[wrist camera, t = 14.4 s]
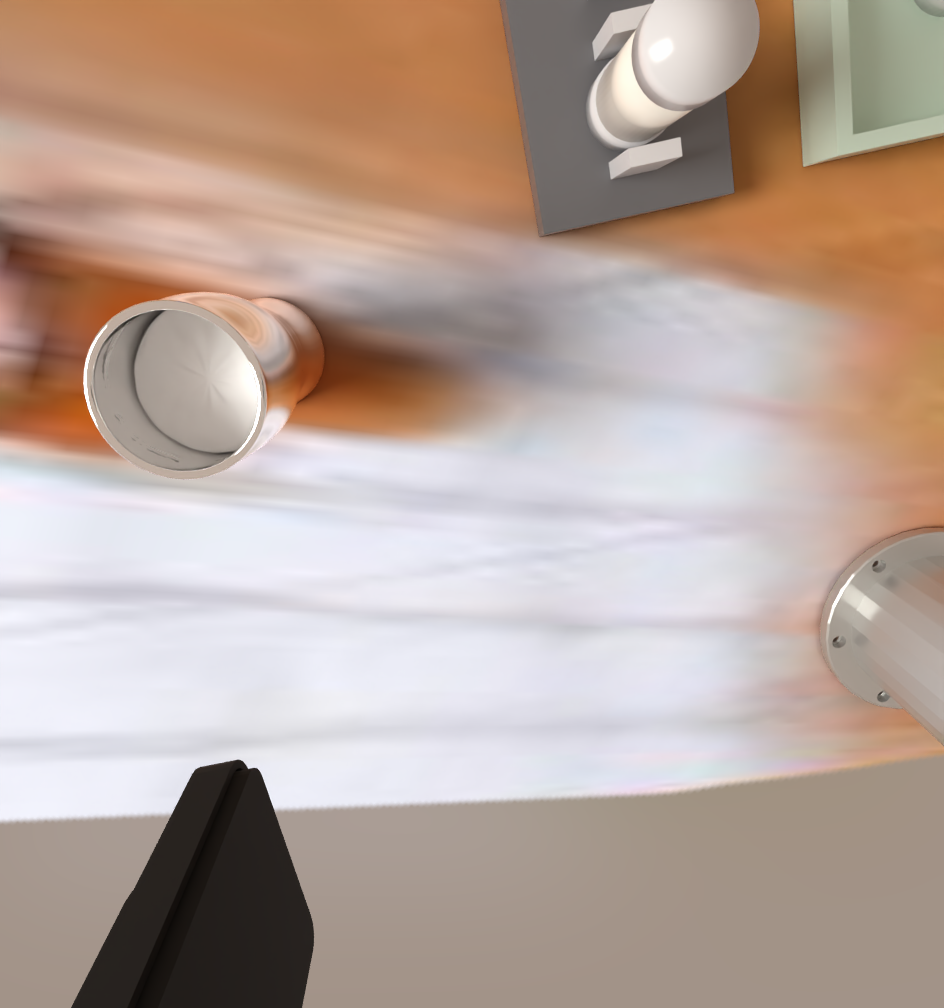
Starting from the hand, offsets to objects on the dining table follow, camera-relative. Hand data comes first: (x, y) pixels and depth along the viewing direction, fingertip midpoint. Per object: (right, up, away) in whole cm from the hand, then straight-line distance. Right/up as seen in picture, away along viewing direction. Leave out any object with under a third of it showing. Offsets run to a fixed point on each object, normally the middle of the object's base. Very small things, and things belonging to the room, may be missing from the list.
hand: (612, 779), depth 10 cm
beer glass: (-13, +12, +31) cm, 36 cm away
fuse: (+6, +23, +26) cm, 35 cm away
